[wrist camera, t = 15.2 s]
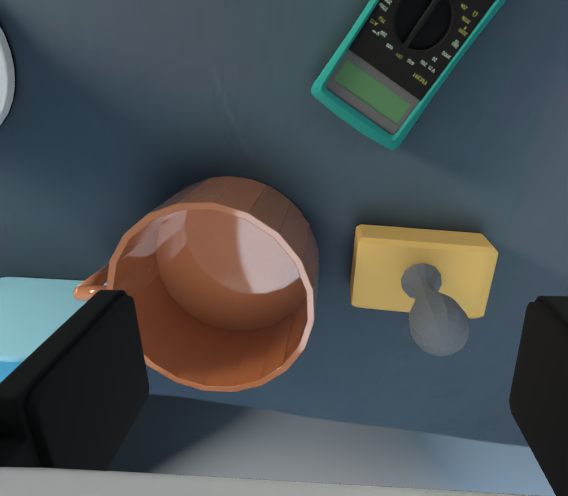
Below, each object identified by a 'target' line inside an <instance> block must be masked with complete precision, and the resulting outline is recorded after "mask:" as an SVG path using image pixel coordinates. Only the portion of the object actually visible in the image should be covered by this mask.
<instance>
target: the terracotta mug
mask: <svg viewBox="0 0 568 496" xmlns="http://www.w3.org/2000/svg"><path fill="white" fill-rule="evenodd" d="M105 283H107V286H103V285H104V284H105ZM318 284H319V248H318V246H317V242H316V239H315V236H314V234H313V231H312V229H311V227H310V224H309V223H308V221H307V220H306V218H305V217H304V215H303V214H302V213H301V211H300V210H299V209H298V208H297V207H296V206H295V205H294V204H293V203H292V202H291V201H290V200H289V199H288V198H286V197H285V196H284V195H283V194H281V193H280V192H278V191H277V190H275V189H273V188H272V187H269V186H267V185H265V184H263V183H261V182H257V181H254V180H251V179H246V178H241V177H216V178H209V179H206V180H203V181H200V182H197V183H195V184H193V185H190V186H187V187H185V188H184V189H182V190H181V191H179V192H178V193H176V194H175V195H174V196H172V197H171V198H169V199H168V200H167V201H165V202H164V203H162V204H161V205H159V206H158V207H157V208H155V209H154V210H152V211H151V212H150V213H148V214H147V215H146V216H144V217H143V218H142V219H141V220H140V221H139V222H137V223H136V224H135V225H134V226H133V227H131V228H130V229H129V230H128V231H127V232H126V233H124V235H123V236H122V238H121V240H120V242H119V244H118V246H117V248H116V250H115V251H114V253H113V255H112V257H111V259H110V263H107V264H105V265H104V266H103V267H101V268H100V269H99V270H98V271H96V272H95V273H94V274H93V275H91V276H90V277H89V278H87V279H86V280H85V281H84V282H82V283H81V284H80V285H79V286H77V287H76V288H75V289H74V291H73V296H74V298H75V299H76V300H78V301H88V300H89V299H90V298H91V297H92V296H93V295H94V294H95V293H96V292H98V291H99V290H124V291H125V292H126V293H127V295H128V296H132V297H133V299H134V302H135V308H136V313H137V319H138V325H139V330H140V336H141V342H142V348H143V353H144V359H145V363H146V364H147V365H148V366H149V367H151V368H153V369H154V370H156V371H158V372H159V373H161V374H163V375H164V376H166V377H168V378H169V379H171V380H173V381H174V382H177V383H180V384H183V385H187V386H190V387H193V388H197V389H200V390H203V391H223V392H236V391H240V390H244V389H249V388H253V387H257V386H261V385H264V384H265V383H267V382H269V381H270V380H272V379H274V378H275V377H277V376H279V375H280V374H282V373H284V372H285V371H287V370H288V369H289V368H290V366H291V365H292V364H293V363H294V361H295V360H296V359H297V358H298V357H299V355H300V354H301V353H302V352H303V351H304V349H305V348H306V345H307V342H308V339H309V336H310V333H311V330H312V327H313V324H314V321H315V312H316V302H317V293H318Z"/></svg>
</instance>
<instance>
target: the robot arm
mask: <svg viewBox="0 0 568 496" xmlns="http://www.w3.org/2000/svg"><path fill="white" fill-rule="evenodd" d="M14 89H15V73H14V65H13V60H12V55H11V51H10V48H9V45H8V43H7V40H6V37H5V35H4V33H3V31H2V29H1V27H0V125H1V124H2V122H3V121H4V119H5V118H6V116H7V115H8V113H9V110H10V107H11V104H12V101H13V96H14ZM148 393H149V382H148V376H147V370H146V365H145V359H144V353H143V348H142V342H141V336H140V330H139V325H138V319H137V313H136V308H135V302H134V299H133V297H132V296H128V295H127V293H126V292H125V291H124V290H99V291H98V292H96V293H95V294H94V295H93V296H92V297H91V298H90V299H89V300H88V301H87V302H86V303H85V304H84V305H83V306H82V307H80V308H79V309H78V310H77V311H76V312H75V313H74V314H73V315H72V316H71V317H70V318H69V319H68V320H67V321H66V322H64V323H63V324H62V325H61V326H60V327H59V328H58V329H57V330H56V331H55V332H54V333H53V334H52V335H51V336H50V337H48V338H47V339H46V340H45V341H44V342H43V343H42V344H41V345H40V346H39V347H38V348H37V349H36V350H35V351H34V352H32V353H31V354H30V355H29V356H28V357H27V358H26V359H25V360H24V361H23V362H22V363H21V364H20V365H19V366H18V367H17V368H15V369H14V370H13V371H12V372H11V373H10V374H9V375H8V376H7V377H6V378H5V379H4V380H3V381H2V382H1V383H0V496H536V495H519V494H504V493H488V492H472V491H456V490H438V489H420V488H402V487H385V486H367V485H350V484H349V485H348V484H332V483H314V482H296V481H280V480H262V479H244V478H227V477H226V478H225V477H210V476H193V475H175V474H154V473H136V472H116V471H107V469H108V468H109V466H110V464H111V462H112V460H113V459H114V457H115V455H116V453H117V452H118V450H119V448H120V446H121V444H122V443H123V441H124V439H125V437H126V435H127V434H128V432H129V430H130V428H131V427H132V425H133V423H134V421H135V419H136V418H137V416H138V414H139V412H140V410H141V409H142V407H143V405H144V403H145V401H146V399H147V397H148ZM509 403H510V409H511V413H512V415H513V417H514V419H515V421H516V423H517V424H518V426H519V428H520V430H521V432H522V434H523V435H524V437H525V439H526V441H527V443H528V445H529V447H530V448H531V450H532V452H533V453H534V456H535V458H536V459H537V461H538V463H539V465H540V467H541V469H542V471H543V472H544V474H545V476H546V478H547V480H548V482H549V484H550V485H551V487H552V489H553V491H554V493H555V495H556V496H568V296H539V297H537V299H536V300H535V302H530V303H529V304H528V306H527V309H526V314H525V319H524V324H523V329H522V335H521V340H520V345H519V350H518V356H517V361H516V366H515V372H514V377H513V382H512V387H511V393H510V399H509Z"/></svg>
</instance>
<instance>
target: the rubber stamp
mask: <svg viewBox="0 0 568 496" xmlns="http://www.w3.org/2000/svg"><path fill="white" fill-rule="evenodd" d="M497 257H498V252H497V250H496V249H495V248H494V247H493V246H492V244H491V243H490V242H489V241H488V240H487V239H486V238H485V237H484V236H483V234H482V233H469V232H456V231H443V230H429V229H416V228H403V227H390V226H377V225H364V224H361V225H359V226H357V227H356V232H355V241H354V251H353V260H352V269H351V279H350V298H351V304H352V305H353V306H355V307H358V308H369V309H380V310H390V311H401V312H410V313H409V325H410V332H411V336H412V338H413V339H414V341H415V342H416V343H417V344H418V345H419V346H420V347H421V348H422V350H424V351H425V352H427V353H430V354H433V355H436V356H449V355H453V354H454V353H456V352H458V351H459V350H461V349H462V348H463V347H464V345H465V343H466V341H467V340H468V338H469V334H470V332H469V321H468V318H475V319H476V318H479V317H482V316H484V312H485V308H486V304H487V300H488V295H489V291H490V287H491V283H492V279H493V274H494V270H495V266H496V262H497Z"/></svg>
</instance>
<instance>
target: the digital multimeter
mask: <svg viewBox="0 0 568 496" xmlns="http://www.w3.org/2000/svg"><path fill="white" fill-rule="evenodd" d="M505 1H506V0H370V1H369V3H368V4H367V6H366V7H365V9H364V10H363V12H362V13H361V15H360V16H359V18H358V19H357V21H356V23H355V24H354V26H353V27H352V29H351V30H350V32H349V33H348V35H347V36H346V38H345V39H344V40H343V42H342V43H341V45H340V46H339V48H338V49H337V51H336V52H335V53H334V55H333V56H332V58H331V59H330V61H329V62H328V64H327V65H326V66H325V68H324V69H323V71H322V72H321V74H320V75H319V77H318V78H317V79H316V81H315V82H314V84H313V85H312V88H311V93H312V95H313V96H314V97H315V98H316V99H317V100H319V101H320V102H321V103H322V104H323V105H325V106H326V107H327V108H328V109H329V110H331V111H332V112H333V113H334V114H336V115H337V116H338V117H339V118H341V119H342V120H343V121H345V122H346V123H348V124H349V125H350V126H352V127H353V128H355V129H356V130H358V131H359V132H361V133H362V134H364V135H366V136H367V137H369V138H371V139H372V140H374V141H376V142H377V143H379V144H381V145H383V146H384V147H386V148H388V149H390V150H394V149H396V148H398V147H399V146H400V144H401V143H402V141H403V140H404V138H405V137H406V135H407V134H408V133H409V131H410V130H411V128H412V127H413V125H414V124H415V122H416V121H417V119H418V118H419V117H420V115H421V114H422V112H423V111H424V109H425V108H426V106H427V105H428V103H429V102H430V101H431V99H432V98H433V96H434V95H435V93H436V92H437V91H438V89H439V88H440V87H441V85H442V84H443V82H444V81H445V80H446V78H447V77H448V76H449V74H450V73H451V72H452V70H453V69H454V67H455V66H456V65H457V63H458V62H459V61H460V59H461V58H462V57H463V55H464V54H465V52H466V51H467V50H468V48H469V47H470V46H471V45H472V43H473V42H474V41H475V39H476V38H477V37H478V36H479V34H480V33H481V32H482V31H483V29H484V28H485V27H486V26H487V24H488V23H489V22H490V20H491V19H492V18H493V17H494V15H495V14H496V13H497V12H498V10H499V9H500V8H501V6H502V5H503V4H504V3H505Z"/></svg>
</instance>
